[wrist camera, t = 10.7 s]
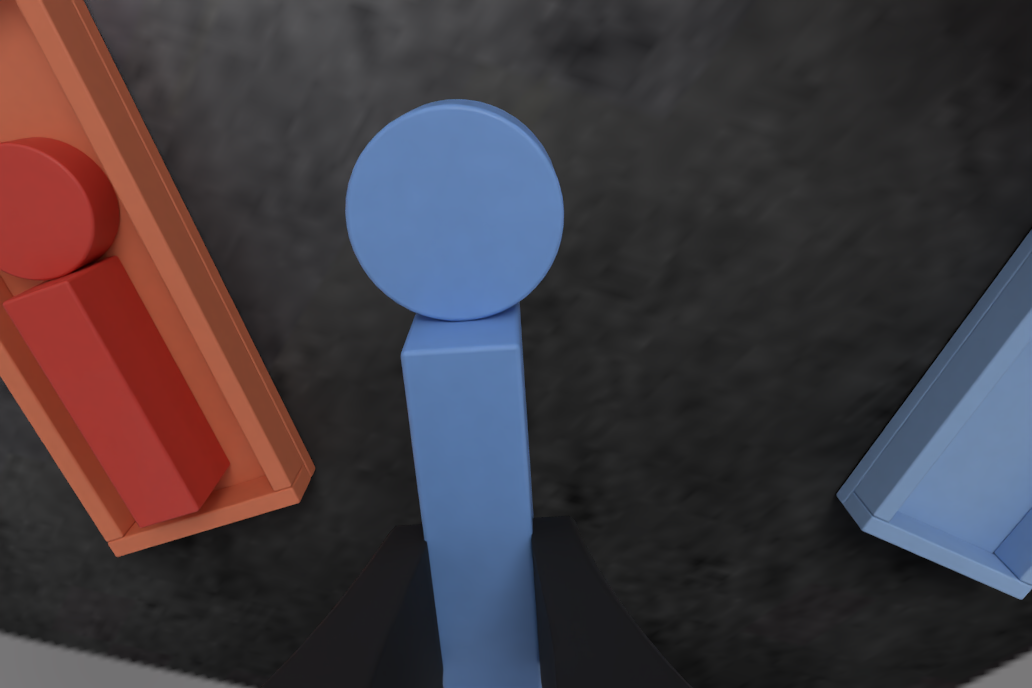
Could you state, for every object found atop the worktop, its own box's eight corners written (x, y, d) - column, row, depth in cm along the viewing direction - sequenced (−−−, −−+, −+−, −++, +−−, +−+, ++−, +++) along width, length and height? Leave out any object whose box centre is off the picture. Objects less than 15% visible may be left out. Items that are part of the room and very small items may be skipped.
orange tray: (316, 468, 20) (300, 503, 19) (145, 519, 21) (115, 558, 19) (52, -64, 16) (0, -78, 14) (-160, 21, 16) (-231, 18, 15)
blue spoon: (575, 597, 14) (586, 690, 12) (416, 605, 14) (400, 700, 12) (554, 91, 11) (565, 100, 9) (347, 105, 11) (309, 117, 9)
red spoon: (256, 456, 20) (226, 503, 18) (154, 488, 20) (113, 537, 18) (78, 117, 16) (16, 127, 14) (-41, 162, 17) (-118, 176, 15)
